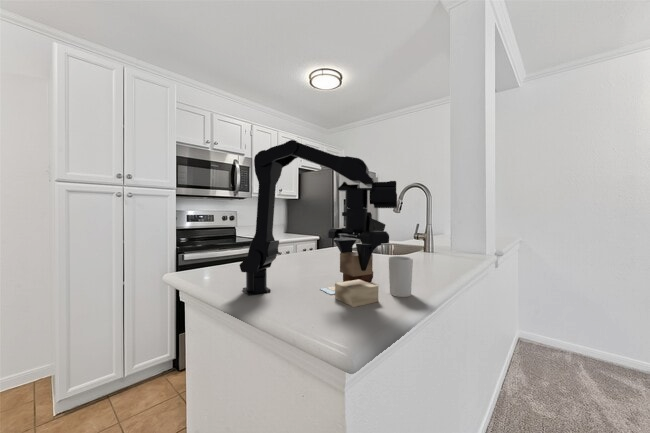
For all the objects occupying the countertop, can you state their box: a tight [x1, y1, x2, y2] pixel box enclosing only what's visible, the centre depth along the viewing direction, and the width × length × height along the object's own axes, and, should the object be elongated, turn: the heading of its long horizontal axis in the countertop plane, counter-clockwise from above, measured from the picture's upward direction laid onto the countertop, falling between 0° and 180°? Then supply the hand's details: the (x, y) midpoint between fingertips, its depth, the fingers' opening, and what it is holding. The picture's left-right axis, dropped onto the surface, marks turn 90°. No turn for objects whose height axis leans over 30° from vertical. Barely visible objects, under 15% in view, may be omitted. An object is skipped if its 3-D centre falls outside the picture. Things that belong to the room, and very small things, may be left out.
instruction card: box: [319, 285, 335, 296], centre depth 80 cm, size 6×9×1 cm, turn 121°
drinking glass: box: [388, 255, 414, 298], centre depth 76 cm, size 7×7×10 cm
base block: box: [334, 279, 379, 308], centre depth 71 cm, size 8×8×4 cm
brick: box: [342, 270, 374, 283], centre depth 86 cm, size 11×4×5 cm, turn 134°
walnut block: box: [339, 251, 374, 277], centre depth 71 cm, size 6×6×5 cm
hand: (356, 268), depth 71 cm, fingers closed on walnut block, 6 cm apart
